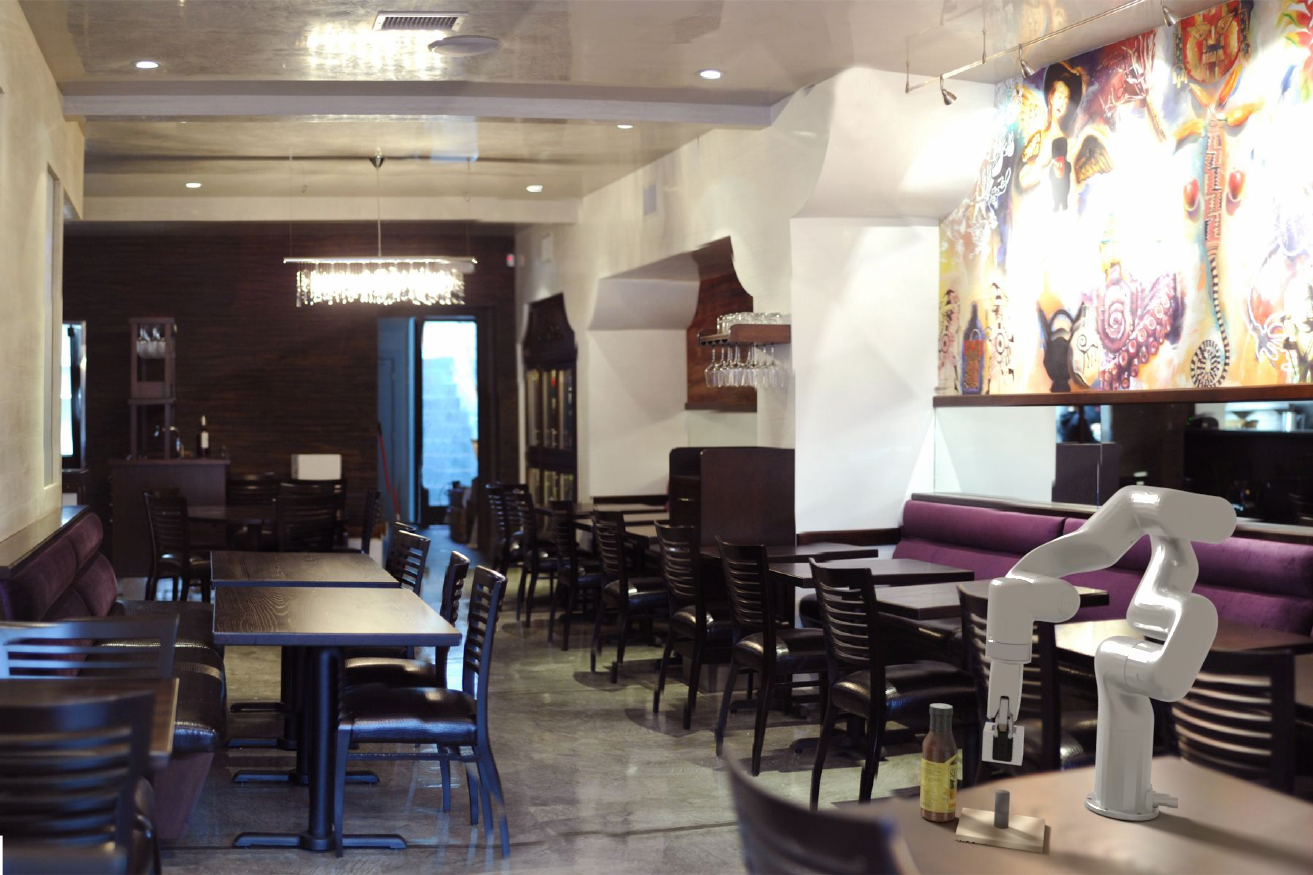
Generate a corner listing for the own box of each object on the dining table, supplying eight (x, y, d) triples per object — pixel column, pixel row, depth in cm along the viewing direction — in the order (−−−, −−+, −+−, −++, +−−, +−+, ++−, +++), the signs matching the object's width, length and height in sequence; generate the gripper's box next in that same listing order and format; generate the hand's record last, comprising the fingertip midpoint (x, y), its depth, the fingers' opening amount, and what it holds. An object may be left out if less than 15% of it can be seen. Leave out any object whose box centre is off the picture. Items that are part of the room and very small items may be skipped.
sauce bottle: (956, 825, 209) (961, 712, 208) (919, 821, 210) (924, 709, 210) (954, 812, 216) (959, 702, 215) (919, 809, 217) (923, 699, 216)
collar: (1022, 755, 208) (1024, 726, 208) (1021, 765, 202) (1022, 735, 202) (984, 750, 210) (986, 721, 210) (981, 760, 204) (983, 731, 204)
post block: (1044, 824, 211) (1046, 784, 211) (1042, 852, 198) (1044, 810, 197) (962, 812, 215) (964, 774, 215) (955, 839, 202) (956, 798, 202)
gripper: (989, 639, 215) (984, 738, 215) (982, 658, 198) (976, 765, 199) (1033, 643, 212) (1027, 744, 213) (1029, 663, 196) (1023, 772, 196)
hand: (1003, 753), depth 206 cm, fingers closed on collar, 6 cm apart
